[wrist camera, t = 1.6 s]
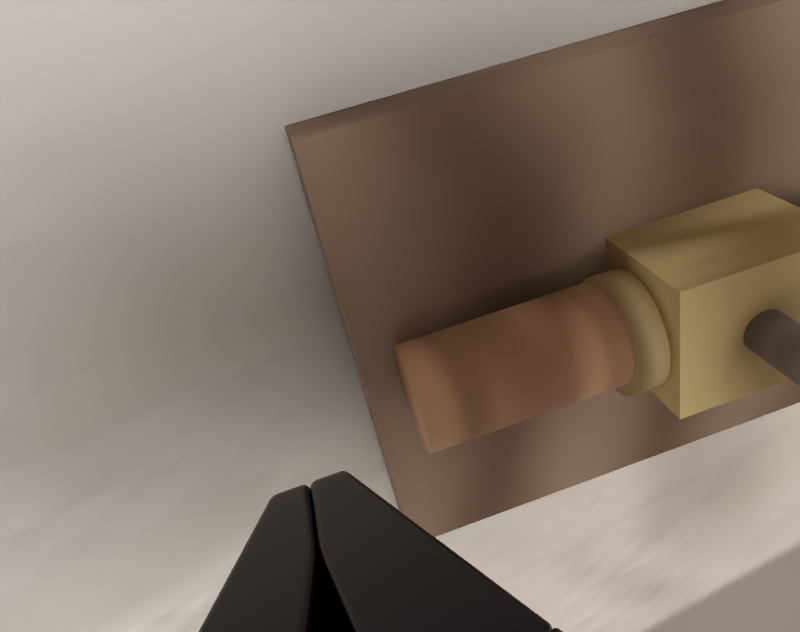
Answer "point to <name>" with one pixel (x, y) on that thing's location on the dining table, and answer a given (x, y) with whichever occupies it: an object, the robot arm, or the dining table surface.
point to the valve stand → (568, 255)
